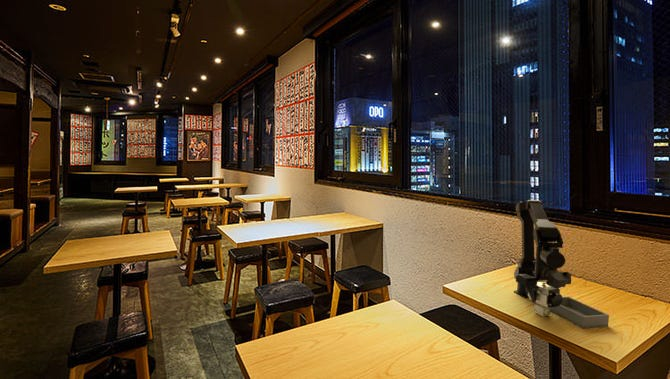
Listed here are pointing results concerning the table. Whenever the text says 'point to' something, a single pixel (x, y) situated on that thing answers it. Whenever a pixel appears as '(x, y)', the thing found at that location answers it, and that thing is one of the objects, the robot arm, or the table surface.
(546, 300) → the pneumatic valve
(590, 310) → the bin
